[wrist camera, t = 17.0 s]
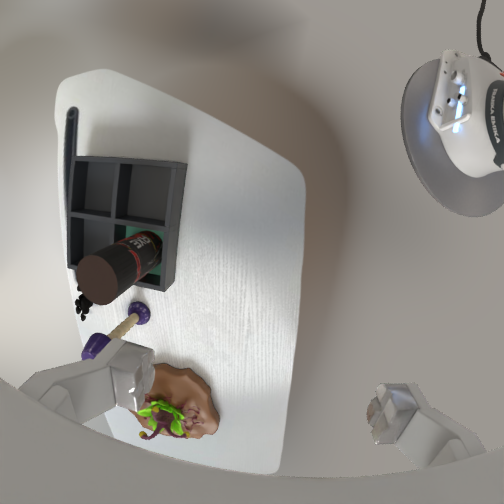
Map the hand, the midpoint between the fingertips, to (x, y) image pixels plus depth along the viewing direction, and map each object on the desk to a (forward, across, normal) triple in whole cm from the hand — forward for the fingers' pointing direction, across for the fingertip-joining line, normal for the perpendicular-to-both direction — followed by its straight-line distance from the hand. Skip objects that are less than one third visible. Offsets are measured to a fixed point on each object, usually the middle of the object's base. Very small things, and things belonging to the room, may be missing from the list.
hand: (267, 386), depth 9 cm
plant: (+34, +14, +38) cm, 53 cm away
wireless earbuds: (+34, +30, +18) cm, 49 cm away
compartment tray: (+34, +23, +2) cm, 41 cm away
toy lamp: (+34, +20, +18) cm, 44 cm away
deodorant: (+34, +18, +6) cm, 39 cm away
